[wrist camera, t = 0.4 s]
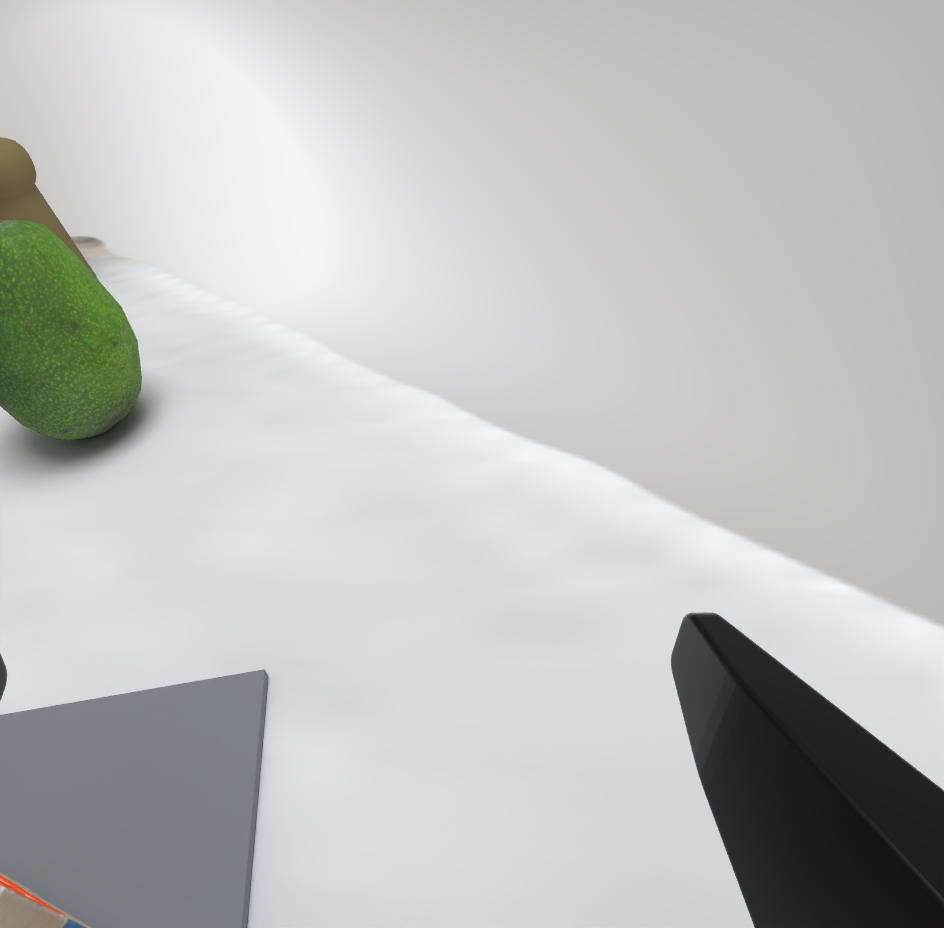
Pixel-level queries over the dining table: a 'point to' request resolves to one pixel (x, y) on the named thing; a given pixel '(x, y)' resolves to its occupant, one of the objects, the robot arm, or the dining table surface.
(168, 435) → the dining table surface
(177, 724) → the mat
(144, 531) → the dining table surface
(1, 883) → the stack of blocks
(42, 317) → the avocado
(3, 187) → the cork
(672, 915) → the dining table surface
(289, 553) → the dining table surface
